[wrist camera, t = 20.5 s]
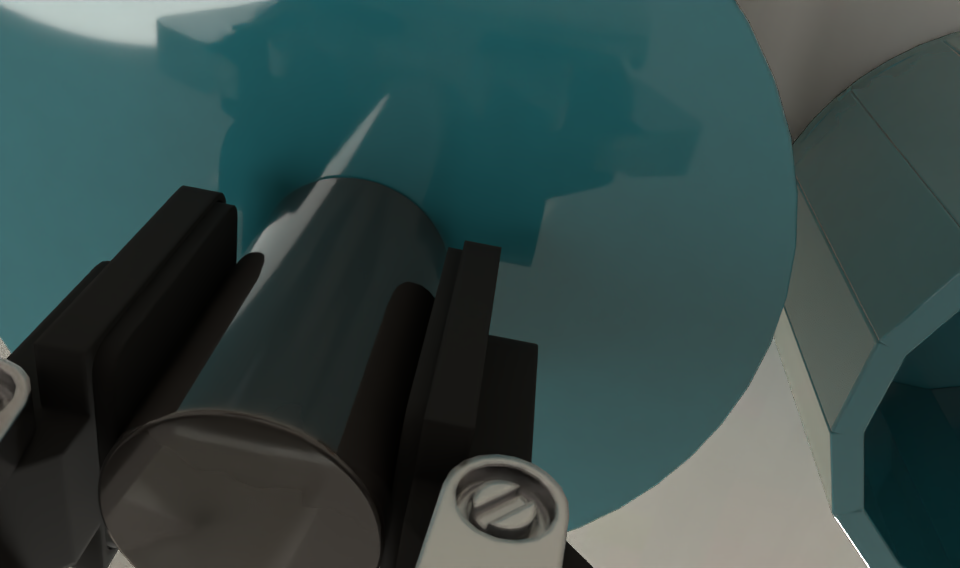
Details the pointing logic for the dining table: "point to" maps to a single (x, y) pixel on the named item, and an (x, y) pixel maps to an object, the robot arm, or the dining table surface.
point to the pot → (882, 307)
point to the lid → (399, 238)
